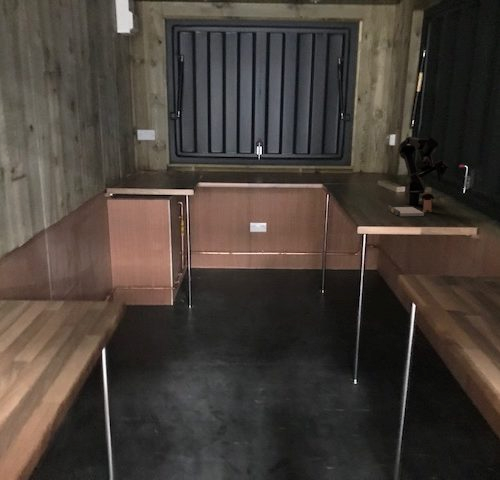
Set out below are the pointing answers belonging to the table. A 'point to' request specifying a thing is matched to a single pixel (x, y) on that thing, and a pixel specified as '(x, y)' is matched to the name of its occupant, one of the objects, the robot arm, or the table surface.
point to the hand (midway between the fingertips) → (431, 186)
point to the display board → (405, 211)
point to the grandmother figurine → (427, 200)
